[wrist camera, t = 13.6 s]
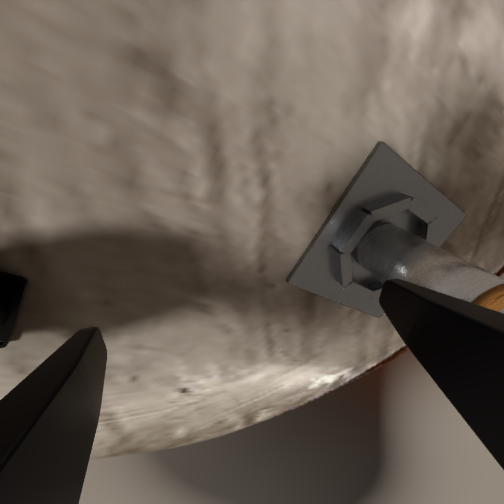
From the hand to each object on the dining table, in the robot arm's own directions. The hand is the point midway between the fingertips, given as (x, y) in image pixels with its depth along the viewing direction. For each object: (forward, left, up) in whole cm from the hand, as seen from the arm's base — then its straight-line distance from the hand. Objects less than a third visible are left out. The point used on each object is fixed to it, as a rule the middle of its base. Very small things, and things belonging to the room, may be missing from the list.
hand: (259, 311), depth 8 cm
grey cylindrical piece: (+3, -17, -12) cm, 21 cm away
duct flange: (+3, -17, -13) cm, 22 cm away
